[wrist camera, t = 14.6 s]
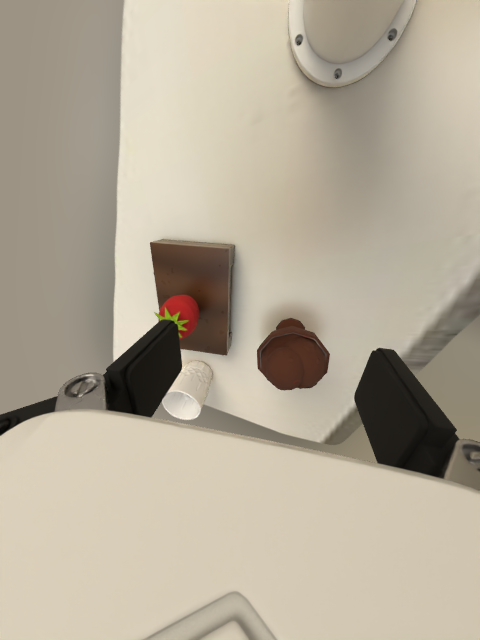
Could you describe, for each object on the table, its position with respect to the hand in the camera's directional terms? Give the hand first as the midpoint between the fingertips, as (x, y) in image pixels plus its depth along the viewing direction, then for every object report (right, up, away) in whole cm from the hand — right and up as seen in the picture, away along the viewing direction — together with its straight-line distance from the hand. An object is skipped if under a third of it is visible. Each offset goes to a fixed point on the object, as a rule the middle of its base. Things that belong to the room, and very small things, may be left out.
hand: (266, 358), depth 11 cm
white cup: (-11, -10, +40) cm, 43 cm away
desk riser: (-9, +6, +31) cm, 33 cm away
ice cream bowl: (+8, 0, +31) cm, 32 cm away
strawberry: (-10, +5, +28) cm, 30 cm away
